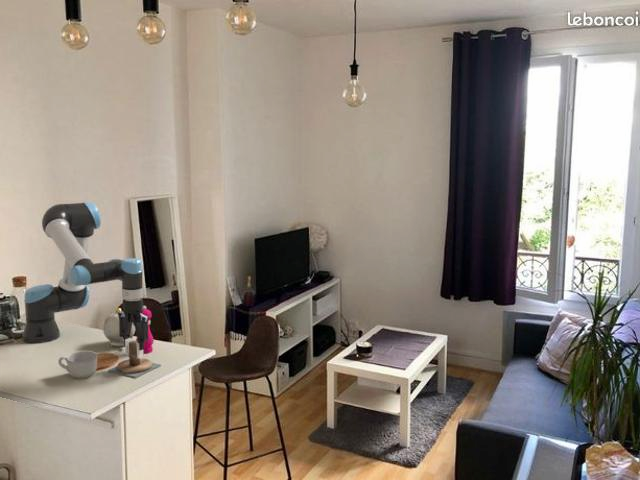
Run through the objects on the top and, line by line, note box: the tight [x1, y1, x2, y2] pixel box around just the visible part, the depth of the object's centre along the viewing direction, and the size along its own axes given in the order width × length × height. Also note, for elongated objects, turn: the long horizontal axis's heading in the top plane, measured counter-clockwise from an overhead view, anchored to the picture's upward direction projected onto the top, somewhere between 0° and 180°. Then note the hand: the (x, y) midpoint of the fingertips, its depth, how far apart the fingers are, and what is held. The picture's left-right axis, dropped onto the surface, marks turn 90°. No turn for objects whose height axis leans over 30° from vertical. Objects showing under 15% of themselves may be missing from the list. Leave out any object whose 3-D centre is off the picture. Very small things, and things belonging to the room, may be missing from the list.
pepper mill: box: [135, 305, 154, 355], centre depth 249 cm, size 7×7×20 cm
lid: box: [116, 340, 153, 374], centre depth 230 cm, size 13×13×10 cm
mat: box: [107, 362, 162, 379], centre depth 231 cm, size 14×14×1 cm
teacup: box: [57, 350, 98, 379], centre depth 223 cm, size 14×11×8 cm
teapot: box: [102, 307, 136, 348], centre depth 256 cm, size 18×14×16 cm
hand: (134, 355), depth 230 cm, fingers open, 5 cm apart
